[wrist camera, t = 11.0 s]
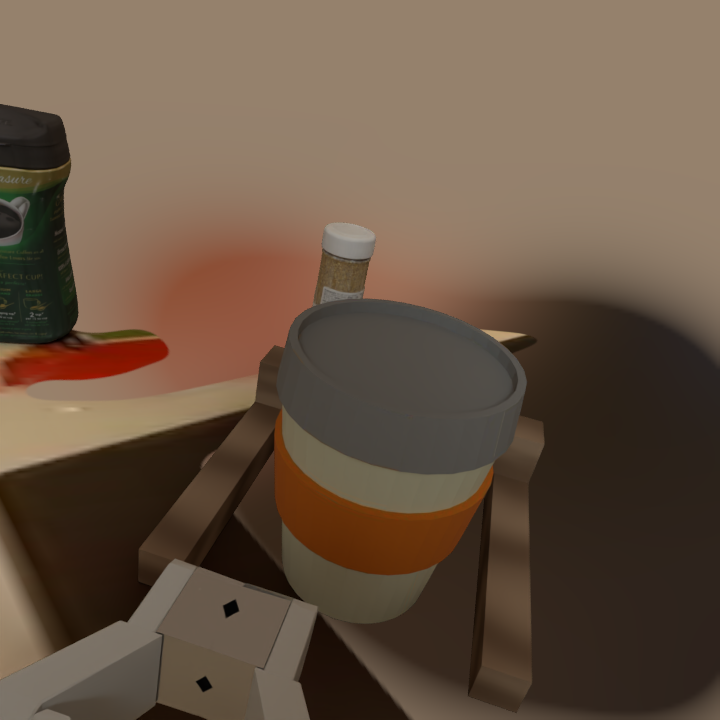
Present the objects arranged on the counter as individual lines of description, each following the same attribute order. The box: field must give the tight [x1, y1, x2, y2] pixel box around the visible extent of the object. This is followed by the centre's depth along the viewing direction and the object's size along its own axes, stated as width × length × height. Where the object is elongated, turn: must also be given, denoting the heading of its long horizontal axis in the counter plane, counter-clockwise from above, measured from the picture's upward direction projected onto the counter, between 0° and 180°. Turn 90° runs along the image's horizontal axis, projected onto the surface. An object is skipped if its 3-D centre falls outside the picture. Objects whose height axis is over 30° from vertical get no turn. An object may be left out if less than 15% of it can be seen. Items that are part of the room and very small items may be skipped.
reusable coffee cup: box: [274, 299, 527, 624], centre depth 34 cm, size 12×13×15 cm
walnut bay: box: [138, 346, 544, 713], centre depth 39 cm, size 19×21×6 cm
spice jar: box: [313, 222, 376, 307], centre depth 55 cm, size 5×4×14 cm
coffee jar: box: [0, 104, 78, 343], centre depth 49 cm, size 10×8×19 cm
